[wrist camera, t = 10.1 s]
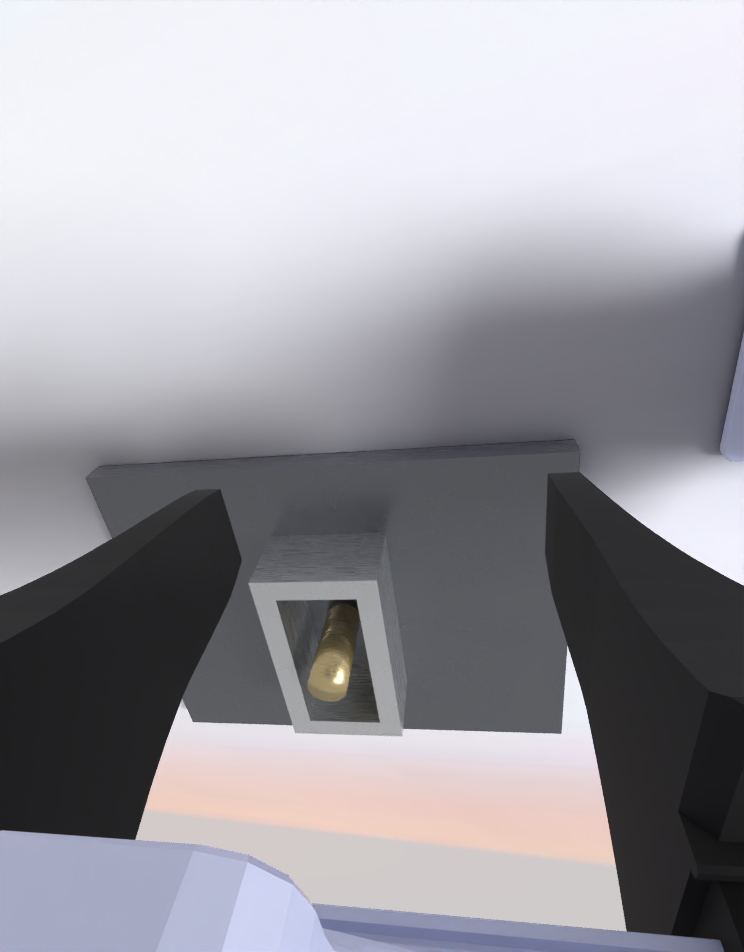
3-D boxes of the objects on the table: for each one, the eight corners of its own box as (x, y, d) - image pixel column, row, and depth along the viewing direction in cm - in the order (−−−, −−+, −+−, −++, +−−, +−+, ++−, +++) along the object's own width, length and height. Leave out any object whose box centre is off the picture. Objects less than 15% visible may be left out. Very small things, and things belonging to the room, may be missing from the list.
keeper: (574, 439, 20) (607, 512, 16) (557, 716, 28) (577, 815, 24) (98, 466, 24) (21, 533, 20) (200, 706, 32) (160, 792, 27)
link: (270, 536, 23) (248, 582, 21) (385, 532, 22) (376, 580, 20) (309, 679, 28) (295, 733, 25) (407, 681, 27) (402, 736, 24)
